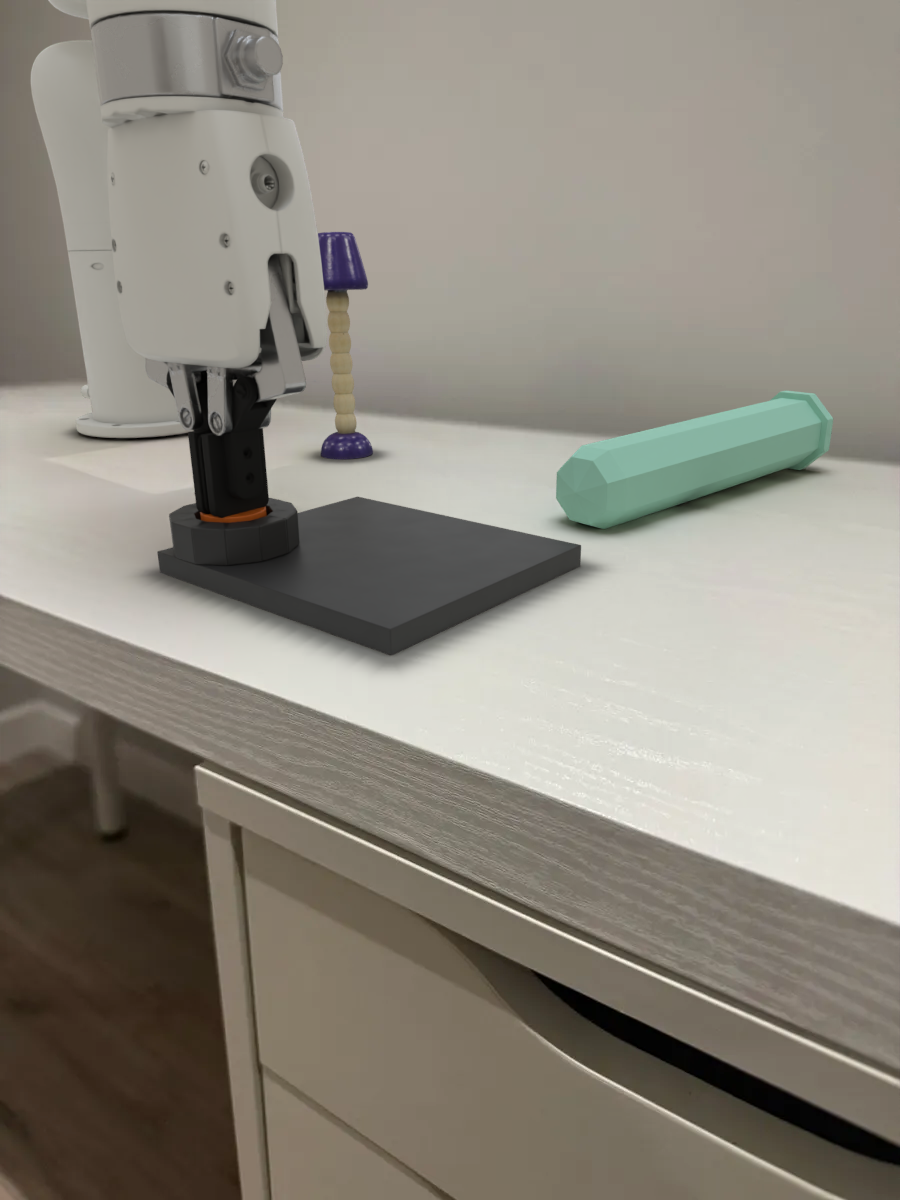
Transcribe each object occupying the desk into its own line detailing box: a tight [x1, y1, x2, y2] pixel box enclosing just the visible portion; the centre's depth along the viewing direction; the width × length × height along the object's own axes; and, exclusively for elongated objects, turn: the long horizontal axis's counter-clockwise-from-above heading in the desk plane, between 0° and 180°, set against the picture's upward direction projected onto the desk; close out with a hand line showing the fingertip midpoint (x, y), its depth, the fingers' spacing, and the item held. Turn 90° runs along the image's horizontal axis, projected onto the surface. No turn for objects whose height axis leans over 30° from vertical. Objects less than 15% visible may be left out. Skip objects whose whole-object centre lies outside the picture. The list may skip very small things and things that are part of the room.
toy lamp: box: [318, 231, 374, 460], centre depth 69 cm, size 5×5×17 cm
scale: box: [157, 496, 582, 656], centre depth 44 cm, size 16×14×3 cm
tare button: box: [200, 507, 267, 523], centre depth 44 cm, size 3×3×2 cm
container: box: [555, 390, 834, 530], centre depth 57 cm, size 6×6×25 cm
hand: (233, 509), depth 44 cm, fingers closed
